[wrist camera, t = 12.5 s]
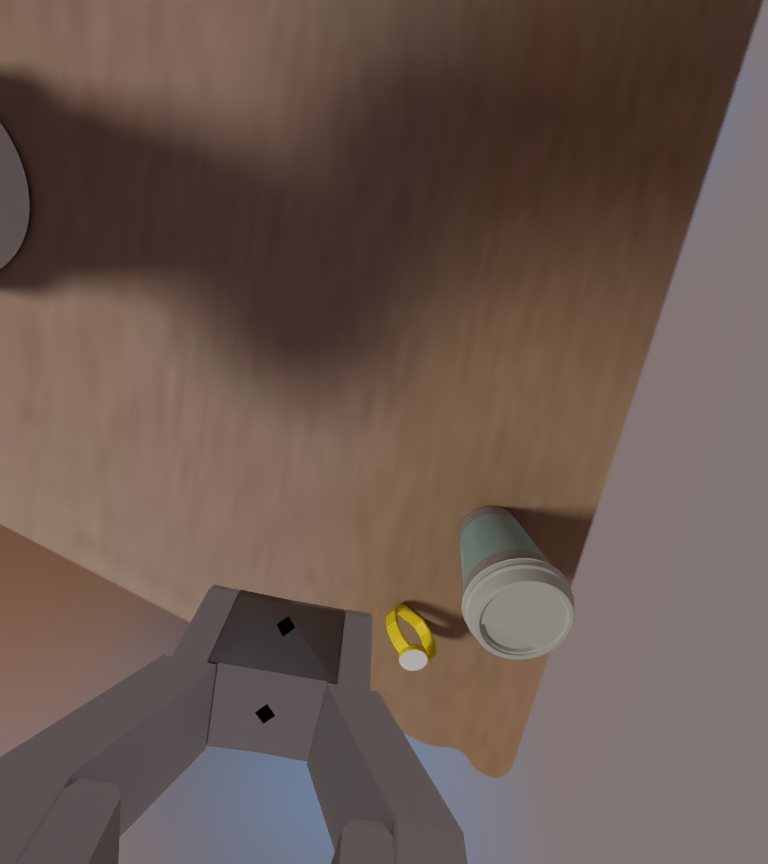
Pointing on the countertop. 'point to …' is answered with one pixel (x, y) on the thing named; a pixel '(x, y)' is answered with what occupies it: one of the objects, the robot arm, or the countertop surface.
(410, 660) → the watch
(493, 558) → the coffee cup
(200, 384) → the countertop surface
